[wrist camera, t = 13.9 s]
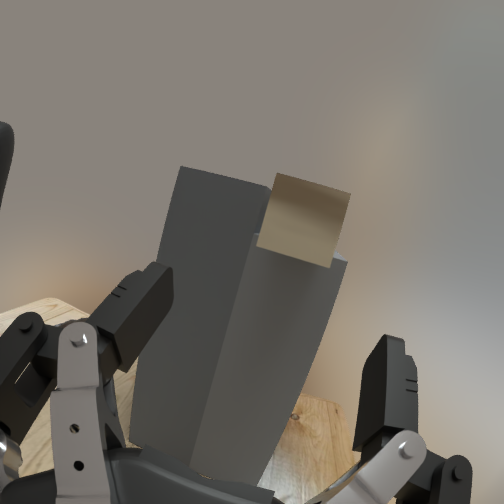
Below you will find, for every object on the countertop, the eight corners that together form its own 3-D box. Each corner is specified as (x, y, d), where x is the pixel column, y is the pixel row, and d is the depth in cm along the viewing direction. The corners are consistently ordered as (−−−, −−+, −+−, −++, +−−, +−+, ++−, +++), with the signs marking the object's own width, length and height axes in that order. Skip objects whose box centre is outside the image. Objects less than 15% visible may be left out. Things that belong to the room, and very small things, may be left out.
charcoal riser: (253, 491, 28) (361, 214, 24) (128, 441, 30) (180, 165, 27) (272, 421, 43) (343, 220, 40) (178, 387, 46) (228, 187, 42)
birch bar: (329, 268, 16) (350, 193, 15) (256, 246, 16) (276, 172, 16) (320, 245, 39) (328, 215, 39) (290, 236, 40) (298, 206, 39)
